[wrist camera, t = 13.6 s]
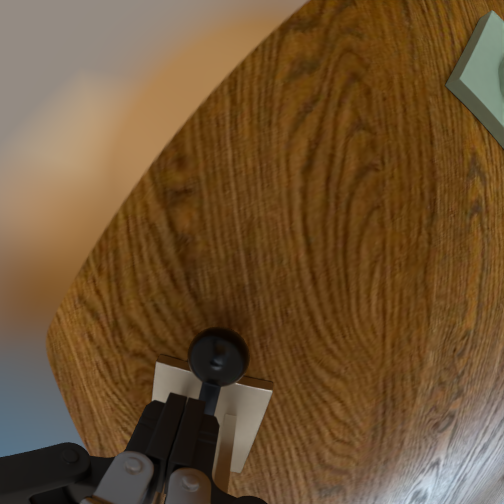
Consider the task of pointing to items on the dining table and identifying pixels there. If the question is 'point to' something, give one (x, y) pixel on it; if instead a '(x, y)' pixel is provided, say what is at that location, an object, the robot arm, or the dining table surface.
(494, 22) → the control block
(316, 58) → the dining table surface
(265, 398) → the bracket
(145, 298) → the dining table surface
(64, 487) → the robot arm
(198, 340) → the lever
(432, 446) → the dining table surface
